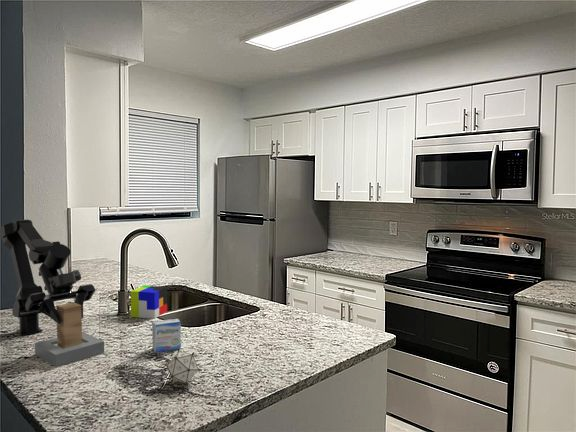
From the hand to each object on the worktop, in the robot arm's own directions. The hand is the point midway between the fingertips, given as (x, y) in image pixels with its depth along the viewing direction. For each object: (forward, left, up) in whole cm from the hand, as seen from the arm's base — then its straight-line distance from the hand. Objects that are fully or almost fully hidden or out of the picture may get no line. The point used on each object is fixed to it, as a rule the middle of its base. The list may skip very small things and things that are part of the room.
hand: (71, 320), depth 131 cm
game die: (+39, +14, -11) cm, 42 cm away
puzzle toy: (-23, +37, -11) cm, 45 cm away
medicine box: (+15, +23, -11) cm, 29 cm away
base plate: (-1, 0, -10) cm, 10 cm away
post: (-1, 0, -8) cm, 8 cm away
